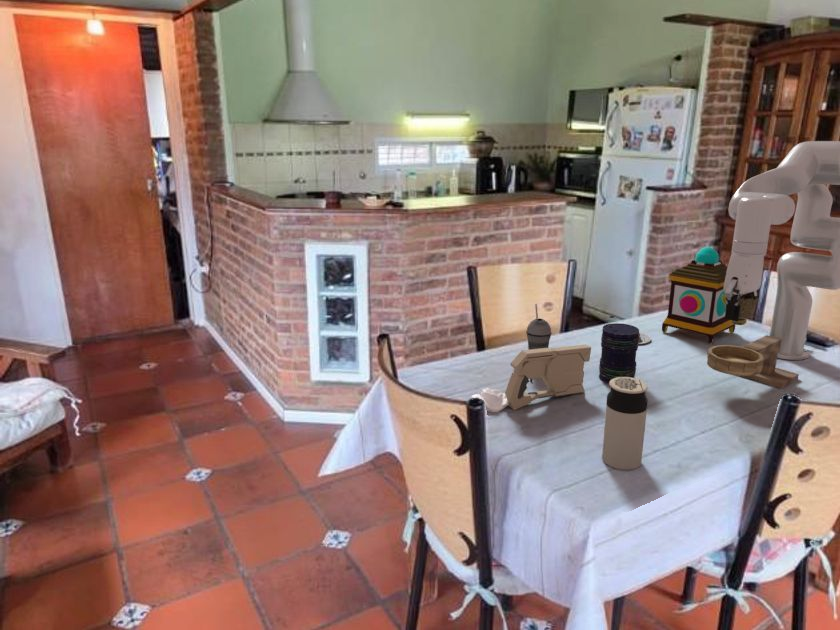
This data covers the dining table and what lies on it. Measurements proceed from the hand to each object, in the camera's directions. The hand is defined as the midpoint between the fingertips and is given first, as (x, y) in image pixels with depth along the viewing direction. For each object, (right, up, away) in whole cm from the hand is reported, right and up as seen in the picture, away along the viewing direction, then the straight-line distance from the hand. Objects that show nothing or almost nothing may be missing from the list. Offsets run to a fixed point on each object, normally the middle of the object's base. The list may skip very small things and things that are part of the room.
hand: (739, 316), depth 149 cm
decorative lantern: (+14, -6, +53) cm, 55 cm away
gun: (-48, -22, +6) cm, 53 cm away
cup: (0, -2, +1) cm, 2 cm away
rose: (-63, -23, +4) cm, 67 cm away
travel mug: (-38, -31, -24) cm, 55 cm away
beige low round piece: (-10, -9, +48) cm, 50 cm away
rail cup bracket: (+8, -19, +11) cm, 23 cm away
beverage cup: (-46, -16, +25) cm, 55 cm away
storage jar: (-25, -18, +17) cm, 36 cm away
